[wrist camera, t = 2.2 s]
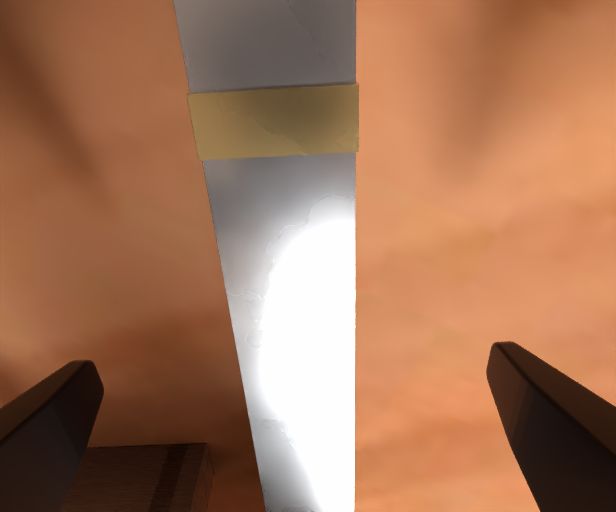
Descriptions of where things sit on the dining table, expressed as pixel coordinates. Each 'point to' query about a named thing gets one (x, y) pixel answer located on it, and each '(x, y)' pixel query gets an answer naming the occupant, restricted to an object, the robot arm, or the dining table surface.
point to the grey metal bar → (284, 225)
